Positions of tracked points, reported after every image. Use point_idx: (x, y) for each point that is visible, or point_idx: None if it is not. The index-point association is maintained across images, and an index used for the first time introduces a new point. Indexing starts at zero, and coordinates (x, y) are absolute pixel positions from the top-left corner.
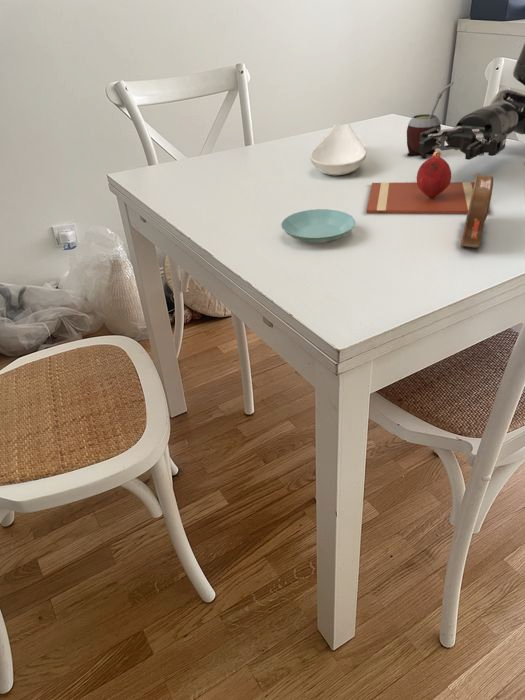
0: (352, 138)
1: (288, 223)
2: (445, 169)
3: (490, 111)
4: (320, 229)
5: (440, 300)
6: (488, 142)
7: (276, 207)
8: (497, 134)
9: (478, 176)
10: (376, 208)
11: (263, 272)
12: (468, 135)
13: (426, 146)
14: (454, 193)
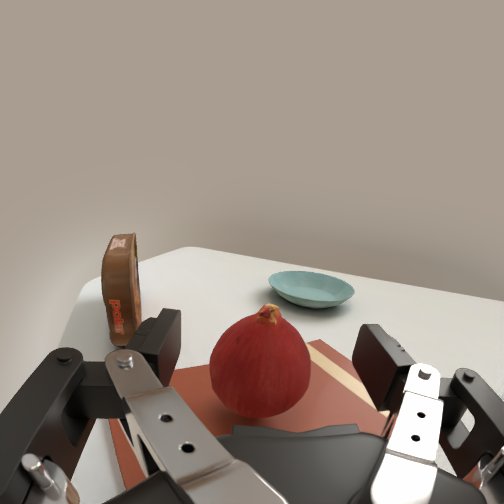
0: None
1: (341, 287)
2: (223, 334)
3: None
4: (315, 299)
5: (146, 263)
6: (92, 383)
7: (420, 323)
8: (24, 465)
9: (128, 251)
10: (312, 346)
11: (287, 267)
12: (249, 450)
13: (366, 355)
14: None
